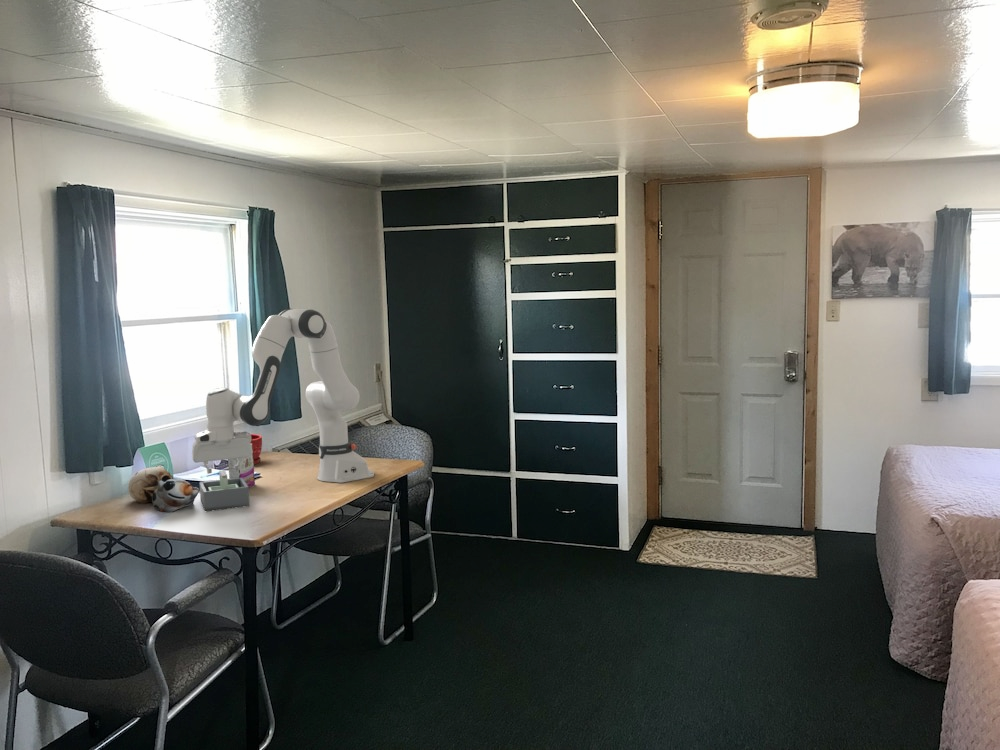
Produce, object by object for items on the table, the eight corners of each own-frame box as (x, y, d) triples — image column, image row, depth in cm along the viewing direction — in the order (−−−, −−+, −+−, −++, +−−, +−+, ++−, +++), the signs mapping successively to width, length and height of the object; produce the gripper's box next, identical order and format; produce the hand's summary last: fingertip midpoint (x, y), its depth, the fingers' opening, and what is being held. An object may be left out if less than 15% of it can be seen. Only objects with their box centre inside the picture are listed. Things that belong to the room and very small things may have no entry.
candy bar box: (243, 483, 325) (241, 442, 323) (255, 484, 324) (253, 443, 322) (228, 491, 314) (226, 449, 312) (241, 491, 313) (238, 449, 311)
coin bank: (190, 499, 303) (183, 464, 301) (142, 513, 292) (135, 477, 290) (174, 492, 315) (167, 458, 312) (127, 506, 303) (120, 471, 301)
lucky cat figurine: (197, 500, 301) (204, 471, 295) (190, 522, 291) (198, 492, 285) (154, 492, 297) (161, 462, 291) (146, 513, 287) (152, 483, 281)
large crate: (243, 495, 307) (242, 477, 306) (249, 506, 294) (248, 486, 293) (200, 501, 301) (199, 482, 300) (205, 511, 287) (203, 492, 286)
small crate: (237, 495, 304) (235, 468, 302) (241, 502, 295) (239, 474, 293) (208, 499, 299) (207, 471, 298) (211, 506, 291) (210, 477, 289)
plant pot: (225, 466, 354) (224, 439, 353) (241, 459, 367) (240, 433, 365) (253, 467, 351) (252, 440, 350) (268, 460, 364) (267, 434, 363)
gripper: (249, 429, 301) (251, 466, 303) (190, 435, 293) (192, 473, 294) (252, 432, 296) (254, 469, 297) (191, 438, 287) (194, 477, 289)
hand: (223, 471), depth 296 cm, fingers open, 8 cm apart
